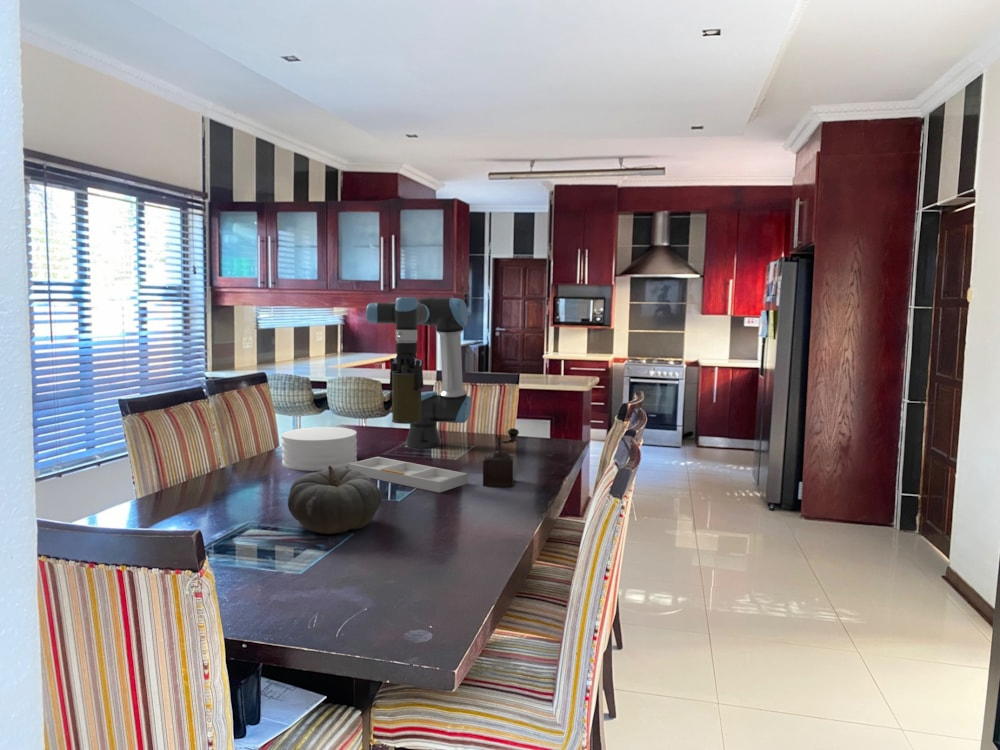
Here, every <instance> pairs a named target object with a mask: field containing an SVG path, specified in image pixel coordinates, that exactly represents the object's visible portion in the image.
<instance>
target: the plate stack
mask: <svg viewBox="0 0 1000 750" xmlns="http://www.w3.org/2000/svg"><path fill="white" fill-rule="evenodd" d="M357 433H358V432H357V430H354V429H353V428H352V429H351V428H349V427H339V426H316V427H315V426H314V427H313V426H311V427H304V428H303V427H302V428H293V429H291V430H286V431H285V432H283V433H281V439H282V440H281V446H282V447H281V452H282V453H281V458H282V460H281V465H282V466H283V467H284V468H288V469H291V470H296V471H311V472H314V471H315V472H318V471H323V470H325V469H328V467H329V466H331V467H332V468H333V467H335V466H341V467H346V468H348V464H349V463H353V462H357V461H358V458H357V455H358V451H357V449H358V445H357V443H358V440H357V436H358V434H357Z"/></svg>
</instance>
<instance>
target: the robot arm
mask: <svg viewBox="0 0 1000 750" xmlns="http://www.w3.org/2000/svg"><path fill="white" fill-rule="evenodd" d="M365 316H366V320H367V322H368V323H370V324H383V325H384V324H385V325H387V324H390V325H391V324H392V325H393V324H395V341H396V342H395V353H396V357H395V358H394V357H393V358H389V363H390V371H389V373H390V372H391V371H400V372H397V373H401V366H402V365H406V369H407V372H408V373H409V374H412V373H415V375H416V388H413V390H415V389H416V391H418V398H419V389H421V390H422V389H424V375H423V374H424V371H423V365H424V360H423V359H418V358H417V353H418V343H417V341H418V325H422V326H430V327H435V330H436V331H435V332H437V333H438V335H439V336H440V337H439V339H440V340H439V343H440V360H441V379H442V381H441V383H442V389H441V390H440V391H439V394H438V393H437V391H436V390H435V391H433V390H432V391H421V420H422V421H421V422H419V423H414V424H409V429H408V432H407V437H406V438H405V446H406V447H410V448H414V449H415V448H416V449H429V448H437V447H440V446H441V444H442V443H441V442H442V441H441V437H440V435H439V434H440V433H439V430H438V427H437V423H448V424H449V423H451V424H464V423H466V422H467V421H468V419H469V417H470V414H471V409H472V398H471V396H469V395H467V390H466V389H464V387H463V386H464V385H463V366H462V365H463V363H462V360H463V359H462V340H461V334H462V333H463V332H464V330H465V327H466V326H467V325H468V324H469V323H468V322H469V320H468V319H469V312H468V307H467V304H466V303H465V301H464V300H463V299H461V298H456V297H455V298H454V297H423V298H416V297H409V296H407V297H405V296H404V297H401V296H399V297H397V298H396V299H395V302H370V303H368V304H367V306H366V311H365ZM412 366H414V367H412ZM410 368H411V369H410Z"/></svg>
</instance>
